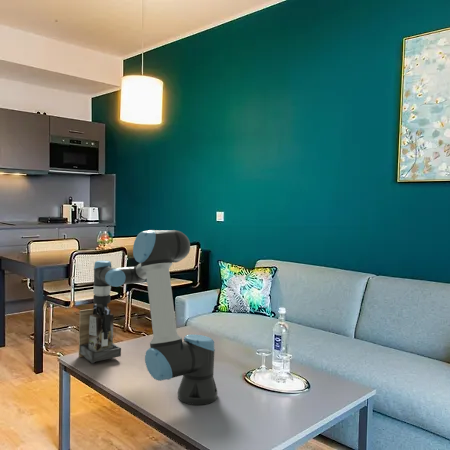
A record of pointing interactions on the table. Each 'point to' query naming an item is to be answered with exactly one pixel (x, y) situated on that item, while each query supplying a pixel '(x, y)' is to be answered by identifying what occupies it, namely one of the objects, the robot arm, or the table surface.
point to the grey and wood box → (84, 341)
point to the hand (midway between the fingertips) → (100, 343)
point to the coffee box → (99, 333)
